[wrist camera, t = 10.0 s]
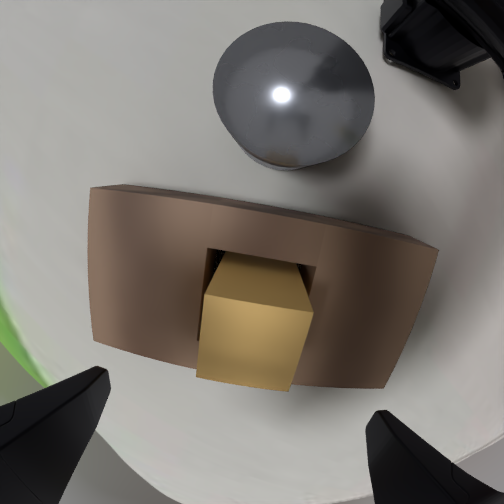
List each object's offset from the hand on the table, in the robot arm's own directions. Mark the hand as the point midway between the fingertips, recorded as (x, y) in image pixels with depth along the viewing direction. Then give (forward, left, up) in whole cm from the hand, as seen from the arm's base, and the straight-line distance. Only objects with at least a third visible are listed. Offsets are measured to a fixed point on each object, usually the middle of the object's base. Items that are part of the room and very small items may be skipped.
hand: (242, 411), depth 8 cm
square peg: (0, 0, -12) cm, 12 cm away
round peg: (0, -11, -12) cm, 16 cm away
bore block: (0, 0, -11) cm, 11 cm away
